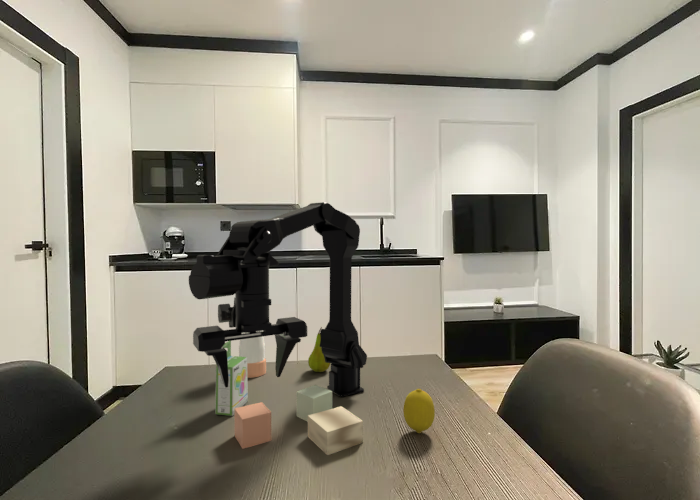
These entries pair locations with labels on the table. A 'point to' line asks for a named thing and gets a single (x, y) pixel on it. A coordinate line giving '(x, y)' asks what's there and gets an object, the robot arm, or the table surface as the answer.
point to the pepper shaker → (253, 355)
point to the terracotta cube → (252, 425)
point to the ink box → (232, 385)
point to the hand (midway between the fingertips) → (252, 381)
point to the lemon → (419, 410)
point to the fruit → (318, 357)
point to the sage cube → (313, 401)
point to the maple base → (335, 430)
